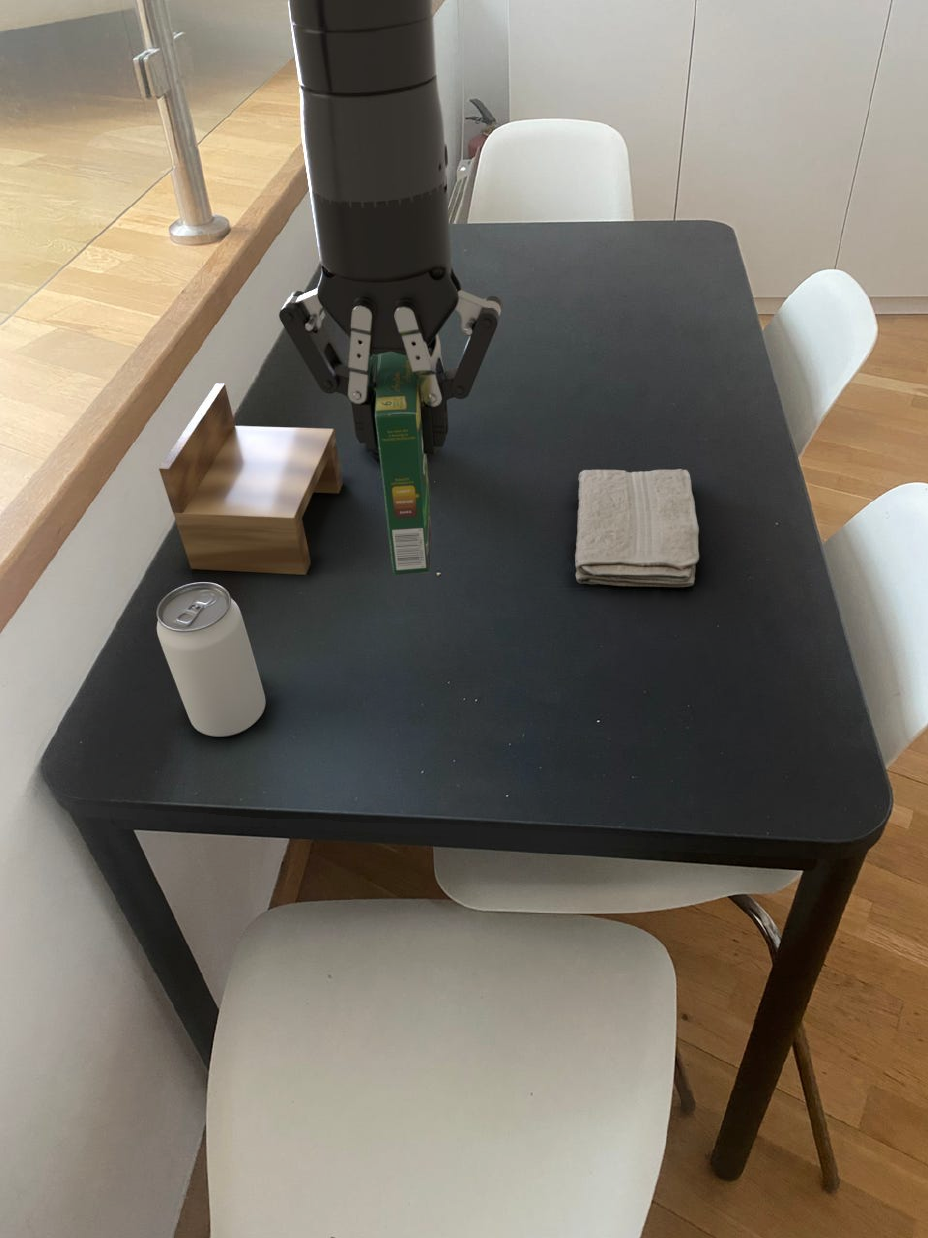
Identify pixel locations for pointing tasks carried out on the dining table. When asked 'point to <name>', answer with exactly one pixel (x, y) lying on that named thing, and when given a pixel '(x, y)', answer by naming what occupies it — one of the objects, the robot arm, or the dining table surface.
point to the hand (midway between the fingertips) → (404, 445)
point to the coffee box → (403, 464)
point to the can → (210, 658)
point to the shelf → (246, 489)
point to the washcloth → (636, 528)
